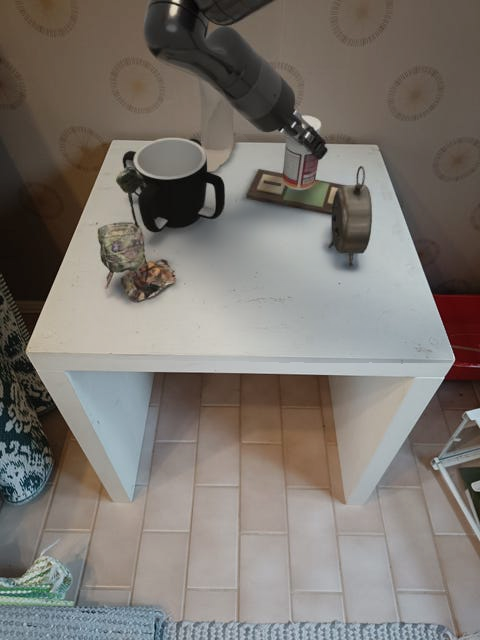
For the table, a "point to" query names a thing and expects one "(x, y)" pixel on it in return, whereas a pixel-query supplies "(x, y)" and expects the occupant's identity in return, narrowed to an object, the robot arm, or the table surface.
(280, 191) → the board
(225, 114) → the candle
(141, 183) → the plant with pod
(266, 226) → the table surface
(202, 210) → the mug
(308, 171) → the pill bottle
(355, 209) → the alarm clock
